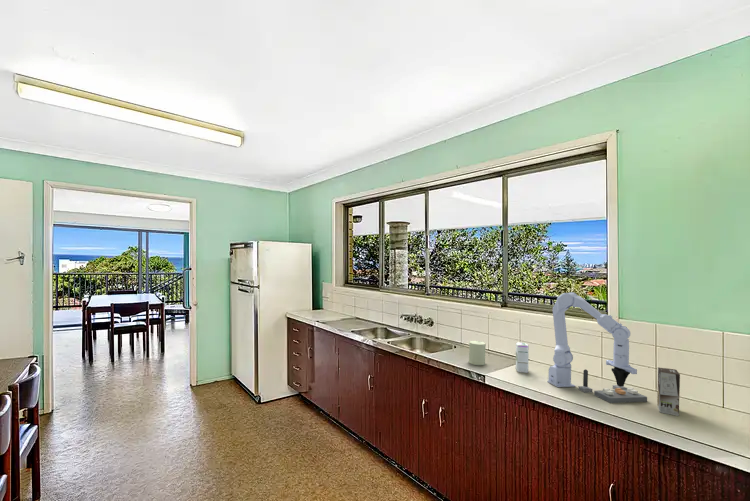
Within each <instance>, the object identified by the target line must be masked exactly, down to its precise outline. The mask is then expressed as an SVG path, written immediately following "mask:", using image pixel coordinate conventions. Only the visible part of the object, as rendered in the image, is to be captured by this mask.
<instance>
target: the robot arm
mask: <svg viewBox="0 0 750 501" xmlns="http://www.w3.org/2000/svg"><path fill="white" fill-rule="evenodd" d="M571 307H573V308H579V309H581V310H583V311H584V312H586V313H587V314H589V315H590V316H591V317H593V318H594V319H596V322H597V324H598V325H599V326H600V327H602V328H603V330H606V332H608V333H609V334H611V336H612V338H613V351H612V352H613V354H612V355H613V356H612V357H613V358H612V359H613V360H610V359H606V360H605V365H606V366H610V367H611V372H612V373H613V375H614V378H615V382H616V385H618V386H624V387H625V384H626V381H627V378H628V377H629V375H630V374H631V375H638V370H637V369H636V368H634V367H633V366H631V365H630V337H631V331H630V329H629V328H628V327H627V326H624V325H623V324H622V323H621V322H618V321H617V320H615V319H614V318H613V315H612V314H609V315H608V314H607V313H601V312H600V311H599V310H598V309H597V308H595V307H594V306H593V305H592V304H590V303H589V302H587V300H585V299H584V298H583V297H582V296H580V295H578V294H577V293H576V292H572V291H571V292H570V291H569V292H563V293H560V295H559V296H558V297H557V298H556V300H555V303H554V304H553V307H552V318H553V327H554V328H553V329H554V337H555V347H554V355H553V358H552V359H553V360H552V361H553V363H554V365H550V366H549V368H548V375H547V376H548V379H547V383H549V384H551V385H553V386H555V387H557V388H570V387H571V388H573V387H575V388H576V385H575V384H573V383H572V362H573V360H574V356H573V354H572V352H571V347H570V346H569V342H568V333H567V322H566V321H567V320H566V313H565V312H567V311H568V310H569V309H570V308H571ZM612 367H613V368H612Z"/></svg>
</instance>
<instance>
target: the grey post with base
mask: <svg viewBox="0 0 750 501" xmlns="http://www.w3.org/2000/svg"><path fill="white" fill-rule="evenodd" d="M615 388H621V389H622V390H627V388H628V387H626V386H625V385H624V386H618V385H617V384H613V385H612V390H615Z"/></svg>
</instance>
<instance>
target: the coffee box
mask: <svg viewBox="0 0 750 501" xmlns="http://www.w3.org/2000/svg"><path fill="white" fill-rule="evenodd" d="M680 386H681V374H680V373H679V371H678V370H677V369H674V368H667V367H657V396H656V397H657V400H656V402H657V404H656V405H657V409H658V412H659V413H661V414H667V415H672V416H675V417H680V393H681V392H680V390H681V389H680V388H681V387H680Z"/></svg>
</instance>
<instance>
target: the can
mask: <svg viewBox="0 0 750 501" xmlns="http://www.w3.org/2000/svg"><path fill="white" fill-rule="evenodd" d="M486 344H487V343H486V342H484V341H480V340H479V341H478V340H470V341H469V344H468V350H469V351H468V363H469V364H470V365H474V366H484V365H486V349H487V348H486Z"/></svg>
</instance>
